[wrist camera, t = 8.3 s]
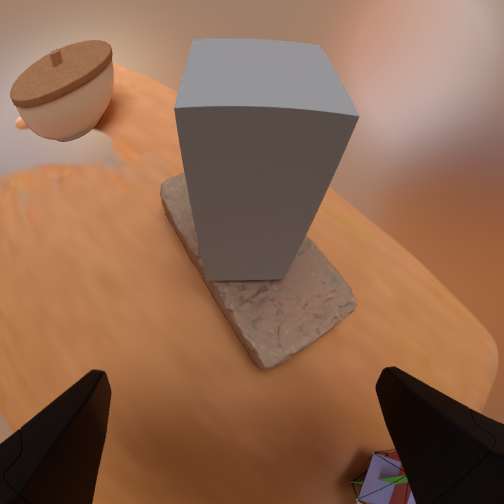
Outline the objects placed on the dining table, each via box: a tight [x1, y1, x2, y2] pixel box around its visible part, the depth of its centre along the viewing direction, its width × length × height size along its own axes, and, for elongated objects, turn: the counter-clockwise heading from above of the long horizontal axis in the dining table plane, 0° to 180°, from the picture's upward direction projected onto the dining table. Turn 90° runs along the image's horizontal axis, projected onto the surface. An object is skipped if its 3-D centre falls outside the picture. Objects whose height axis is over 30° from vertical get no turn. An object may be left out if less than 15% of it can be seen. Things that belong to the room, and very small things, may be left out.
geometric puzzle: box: [351, 449, 416, 504], centre depth 14 cm, size 7×7×8 cm
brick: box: [160, 172, 357, 370], centre depth 22 cm, size 17×8×5 cm, turn 33°
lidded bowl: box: [10, 40, 114, 142], centre depth 23 cm, size 13×13×11 cm
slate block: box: [174, 38, 359, 281], centre depth 14 cm, size 5×5×13 cm
